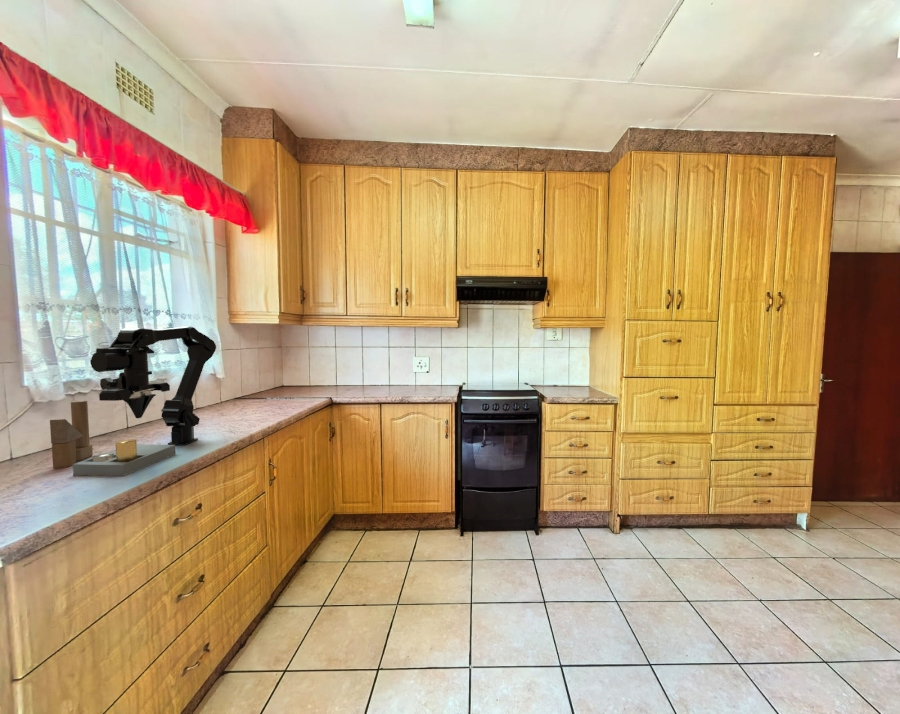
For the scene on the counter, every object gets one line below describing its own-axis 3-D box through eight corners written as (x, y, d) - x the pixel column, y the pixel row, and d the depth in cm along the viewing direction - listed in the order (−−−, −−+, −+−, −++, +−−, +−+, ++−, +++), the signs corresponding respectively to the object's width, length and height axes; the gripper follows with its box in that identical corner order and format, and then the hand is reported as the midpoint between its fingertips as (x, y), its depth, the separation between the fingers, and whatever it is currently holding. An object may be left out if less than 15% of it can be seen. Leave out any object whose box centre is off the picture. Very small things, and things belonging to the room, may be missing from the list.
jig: (133, 453, 115) (133, 444, 115) (175, 453, 115) (175, 444, 114) (73, 475, 97) (72, 464, 97) (123, 475, 97) (122, 465, 96)
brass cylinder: (127, 466, 104) (125, 439, 103) (141, 466, 104) (140, 439, 103) (112, 471, 99) (110, 443, 99) (128, 471, 99) (126, 443, 99)
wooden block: (52, 468, 101) (48, 406, 100) (79, 456, 112) (76, 400, 111) (68, 467, 103) (64, 406, 101) (93, 455, 113) (90, 399, 112)
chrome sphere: (104, 465, 104) (103, 452, 104) (118, 465, 104) (118, 452, 104) (88, 471, 100) (87, 457, 99) (103, 471, 100) (103, 457, 99)
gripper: (137, 365, 119) (140, 411, 120) (78, 371, 101) (82, 425, 102) (170, 366, 119) (172, 411, 120) (117, 372, 101) (120, 425, 102)
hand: (138, 418), depth 111 cm, fingers closed
